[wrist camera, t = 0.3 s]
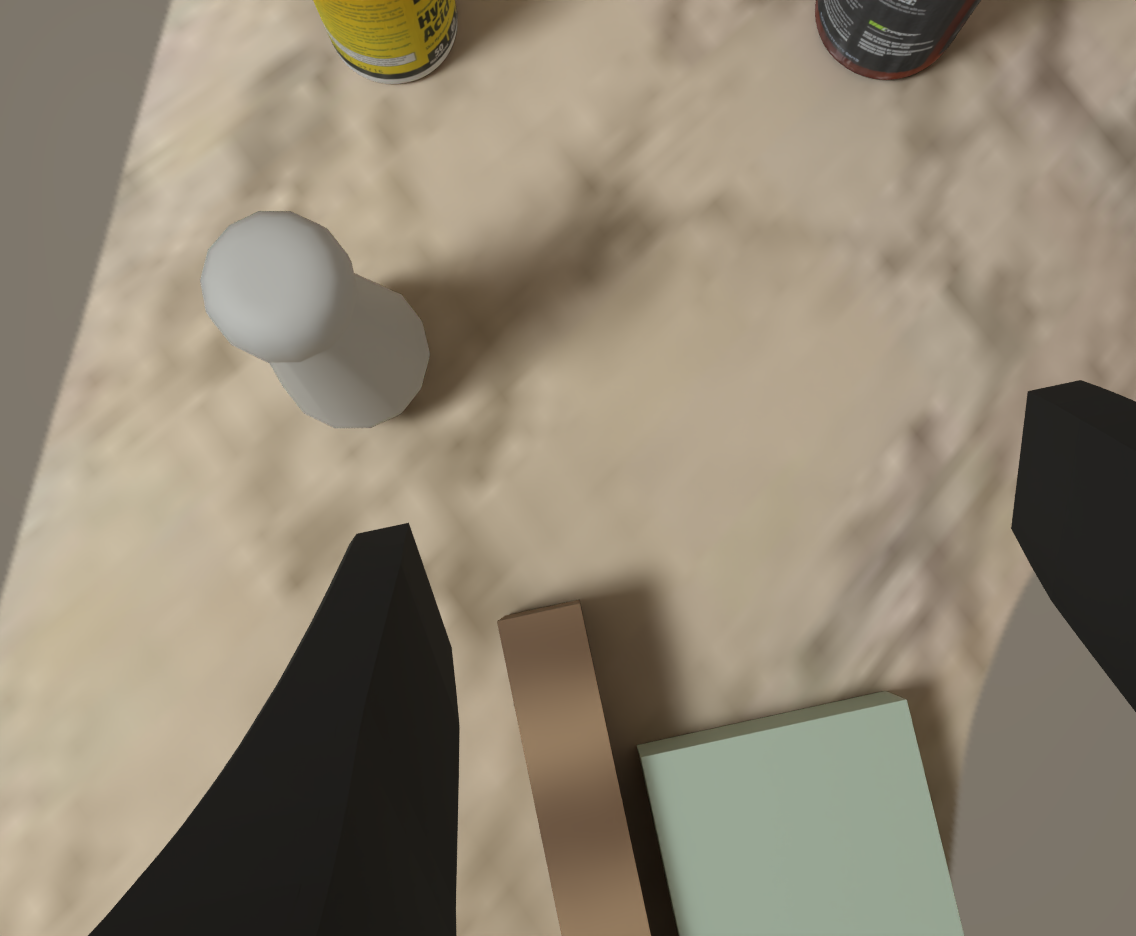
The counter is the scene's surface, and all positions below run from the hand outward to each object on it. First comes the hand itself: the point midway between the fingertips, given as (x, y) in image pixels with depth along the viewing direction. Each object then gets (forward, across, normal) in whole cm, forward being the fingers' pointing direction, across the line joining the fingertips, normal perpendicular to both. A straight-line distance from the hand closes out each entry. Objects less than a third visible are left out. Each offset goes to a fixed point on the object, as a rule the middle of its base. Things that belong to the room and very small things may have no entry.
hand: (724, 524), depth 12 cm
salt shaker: (+28, +9, +12) cm, 31 cm away
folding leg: (+15, +4, +26) cm, 30 cm away
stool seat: (+13, -4, +28) cm, 31 cm away
